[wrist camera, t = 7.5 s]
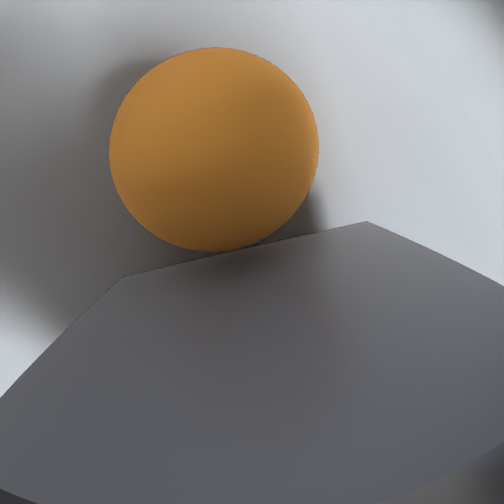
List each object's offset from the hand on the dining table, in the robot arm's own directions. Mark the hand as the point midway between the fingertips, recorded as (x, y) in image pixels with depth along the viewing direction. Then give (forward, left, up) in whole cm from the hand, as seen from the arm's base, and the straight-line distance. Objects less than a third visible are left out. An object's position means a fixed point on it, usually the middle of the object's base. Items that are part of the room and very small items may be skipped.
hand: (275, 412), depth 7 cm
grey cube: (0, 0, -3) cm, 3 cm away
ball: (0, -7, -1) cm, 7 cm away
